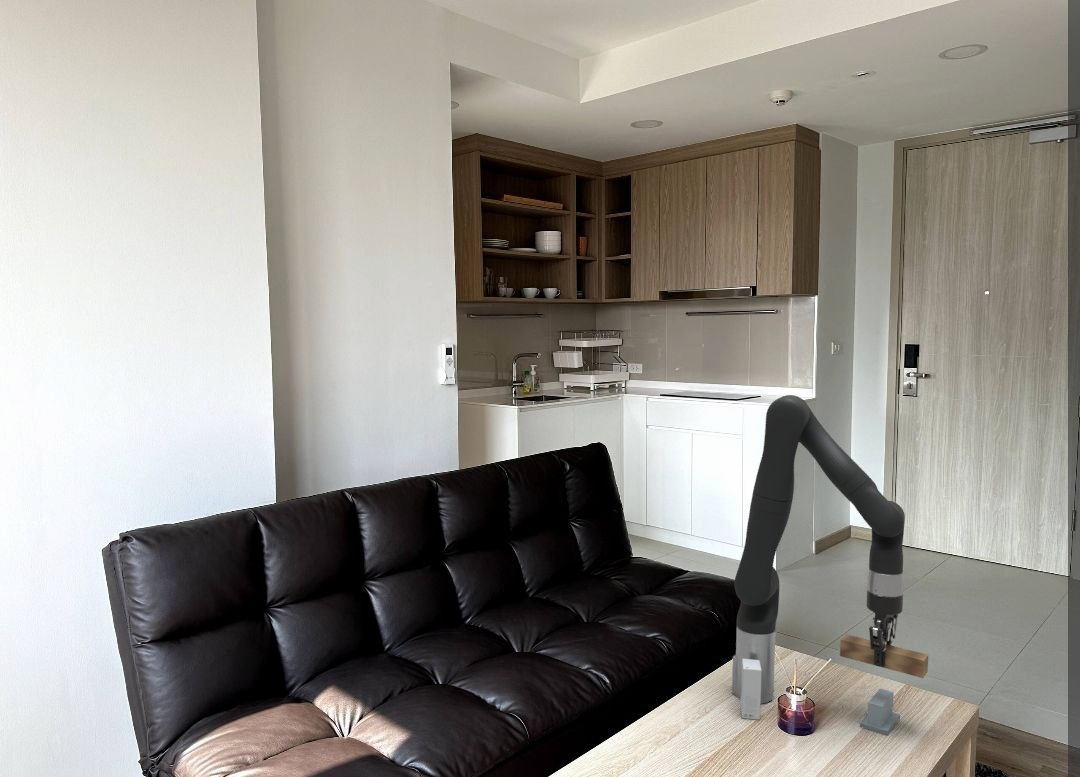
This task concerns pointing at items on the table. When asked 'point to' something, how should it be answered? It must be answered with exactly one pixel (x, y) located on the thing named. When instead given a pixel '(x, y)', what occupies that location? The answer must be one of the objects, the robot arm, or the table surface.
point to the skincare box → (750, 689)
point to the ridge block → (880, 713)
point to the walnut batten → (894, 656)
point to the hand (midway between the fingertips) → (882, 662)
